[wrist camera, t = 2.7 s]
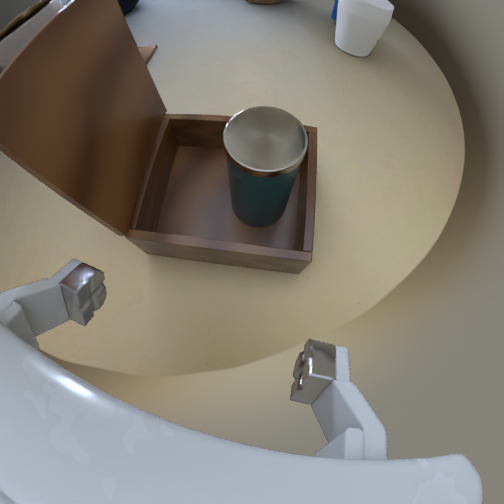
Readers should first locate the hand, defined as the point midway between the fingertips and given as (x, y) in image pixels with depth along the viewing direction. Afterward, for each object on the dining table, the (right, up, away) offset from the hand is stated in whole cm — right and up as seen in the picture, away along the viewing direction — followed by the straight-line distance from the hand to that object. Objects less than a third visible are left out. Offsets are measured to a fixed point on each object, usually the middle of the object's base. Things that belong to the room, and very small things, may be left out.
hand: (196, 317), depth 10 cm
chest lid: (-8, +12, +5) cm, 16 cm away
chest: (0, +8, +19) cm, 21 cm away
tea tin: (+3, +8, +19) cm, 20 cm away
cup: (+20, +39, +28) cm, 52 cm away
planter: (-44, +45, +28) cm, 68 cm away
